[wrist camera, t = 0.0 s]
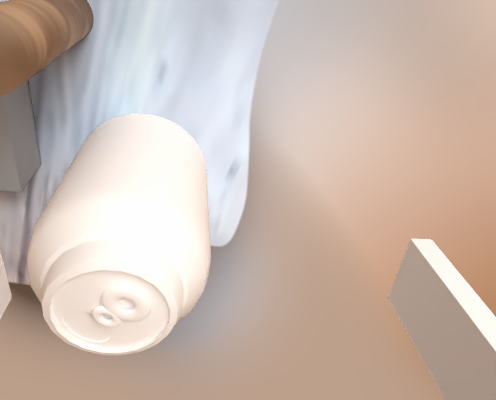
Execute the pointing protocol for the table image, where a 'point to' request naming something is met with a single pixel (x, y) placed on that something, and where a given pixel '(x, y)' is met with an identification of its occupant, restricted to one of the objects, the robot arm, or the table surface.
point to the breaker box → (17, 140)
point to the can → (124, 237)
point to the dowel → (38, 35)
